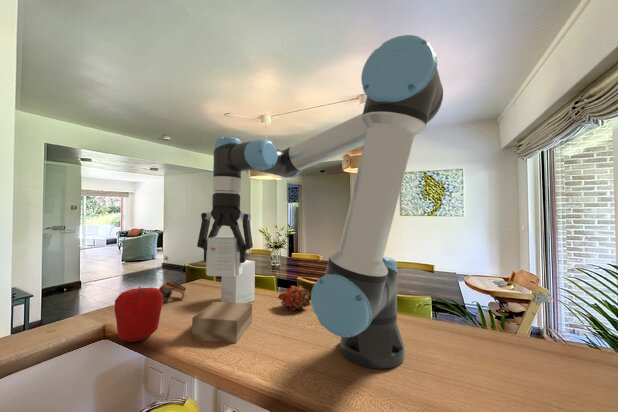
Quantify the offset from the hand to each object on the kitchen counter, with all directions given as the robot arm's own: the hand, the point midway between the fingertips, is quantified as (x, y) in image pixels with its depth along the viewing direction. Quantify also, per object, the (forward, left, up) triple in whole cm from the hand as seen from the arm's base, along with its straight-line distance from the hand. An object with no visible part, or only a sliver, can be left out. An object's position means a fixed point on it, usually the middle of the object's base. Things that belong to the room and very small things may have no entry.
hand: (224, 273), depth 72 cm
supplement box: (+5, -23, -16) cm, 28 cm away
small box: (0, 0, 0) cm, 0 cm away
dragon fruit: (-17, -19, -16) cm, 30 cm away
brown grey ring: (+30, -19, -16) cm, 39 cm away
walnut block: (0, 0, -16) cm, 16 cm away
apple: (+20, +7, -16) cm, 26 cm away
